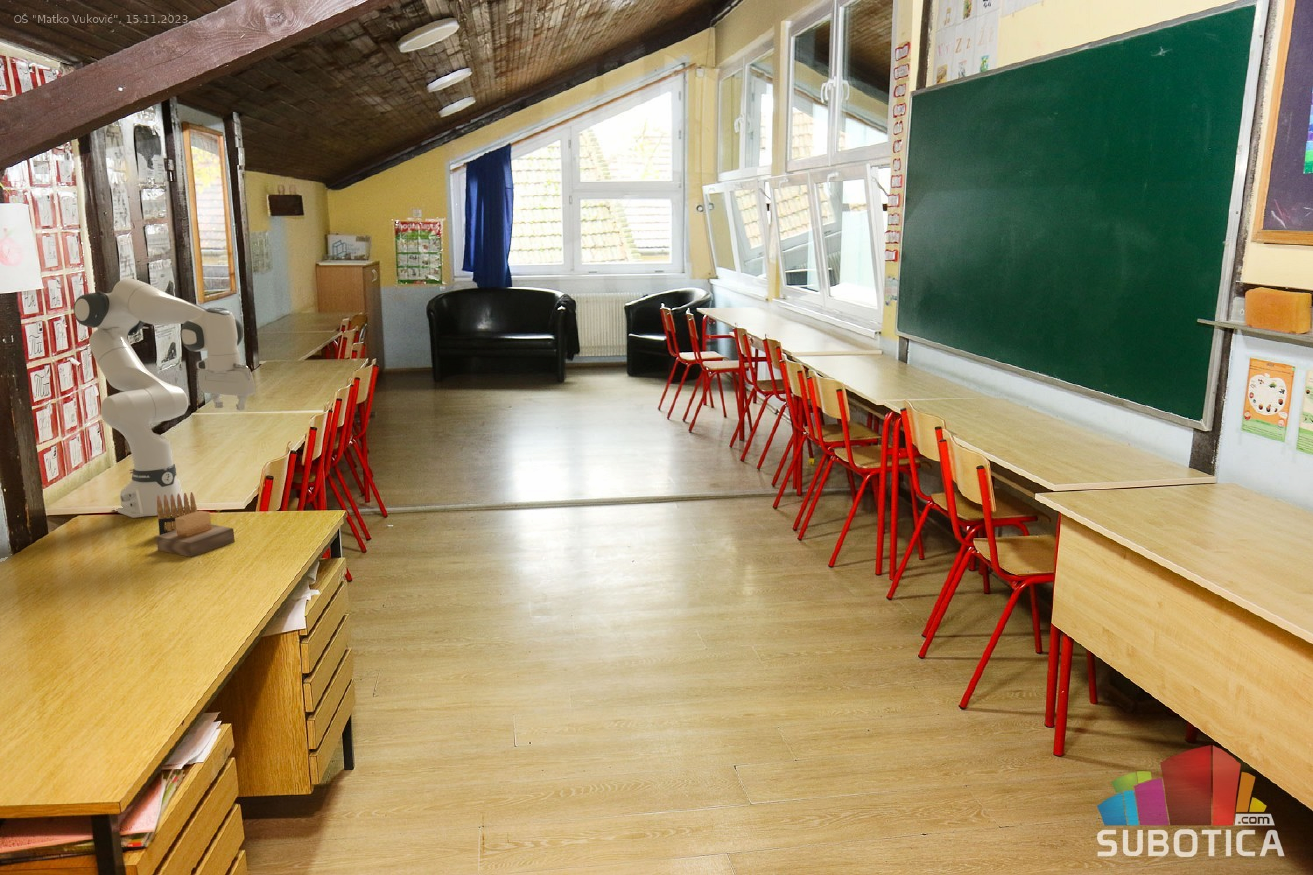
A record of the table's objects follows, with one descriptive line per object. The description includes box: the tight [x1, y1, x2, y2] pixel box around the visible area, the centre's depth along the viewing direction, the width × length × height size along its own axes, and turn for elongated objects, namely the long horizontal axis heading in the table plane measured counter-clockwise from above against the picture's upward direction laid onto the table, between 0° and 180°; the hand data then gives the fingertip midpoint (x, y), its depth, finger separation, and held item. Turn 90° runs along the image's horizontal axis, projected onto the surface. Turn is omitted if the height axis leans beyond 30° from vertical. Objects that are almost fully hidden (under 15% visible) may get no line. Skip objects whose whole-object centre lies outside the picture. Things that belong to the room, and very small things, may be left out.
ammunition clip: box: [157, 491, 198, 535], centre depth 281 cm, size 11×2×12 cm, turn 109°
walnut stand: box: [155, 523, 236, 558], centre depth 270 cm, size 14×14×4 cm
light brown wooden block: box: [175, 510, 212, 537], centre depth 269 cm, size 4×8×5 cm, turn 153°
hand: (230, 409), depth 288 cm, fingers open, 8 cm apart
